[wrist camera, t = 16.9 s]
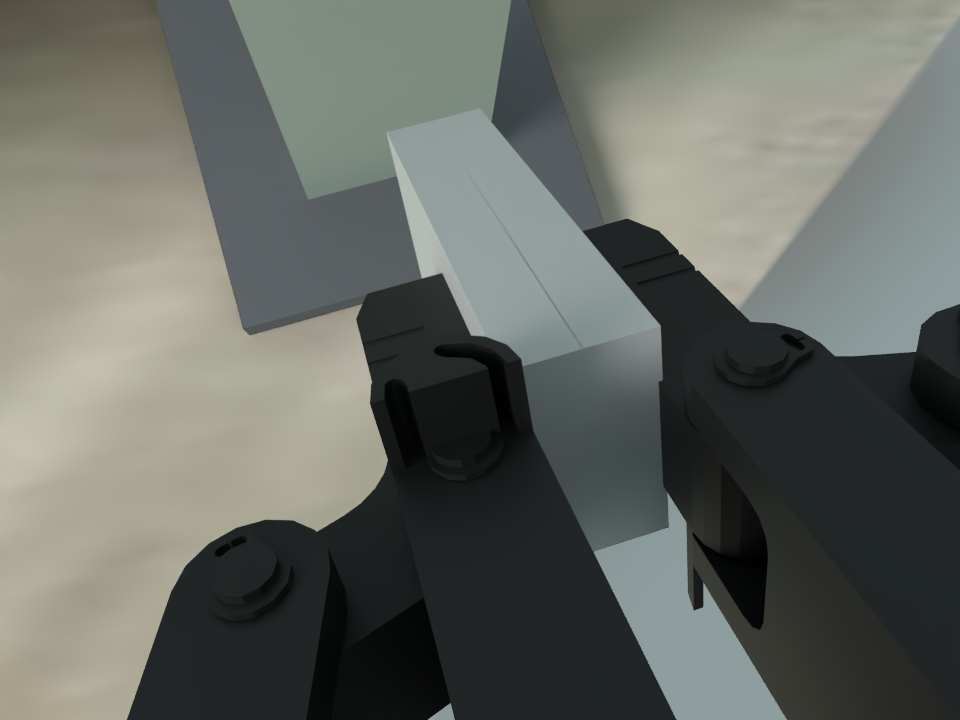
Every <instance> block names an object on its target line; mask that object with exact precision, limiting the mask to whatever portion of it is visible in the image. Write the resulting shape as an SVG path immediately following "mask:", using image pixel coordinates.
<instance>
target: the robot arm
mask: <svg viewBox="0 0 960 720" xmlns="http://www.w3.org/2000/svg"><path fill="white" fill-rule="evenodd" d="M386 133H387V137H388V141H389V145H390V149H391V153H392V157H393V162H394V166H395V170H396V174H397V178H398V182H399V186H400V190H401V195H402V199H403V203H404V207H405V211H406V215H407V219H408V224H409V228H410V232H411V236H412V240H413V244H414V248H415V252H416V257H417V261H418V265H419V269H420V273H421V277H422V279H418V280H415V281H411V282H408V283H404V284H400V285H397V286H393V287H390V288H386V289H382V290H379V291H375V292H372V293H368V294H367V295H366V297H365V300H364V302H363V304H362V307H361V309H360V311H359V314H358V316H357V319H356V320H357V324H358V328H359V332H360V336H361V340H362V344H363V347H364V351H365V355H366V359H367V363H368V367H369V371H370V375H371V379H372V384H371V398H370V405H371V408H372V411H373V414H374V417H375V420H376V424H377V427H378V430H379V433H380V436H381V439H382V442H383V445H384V449H385V452H386V455H387V458H388V462H387V466H386V470H385V473H384V475H383V476H382V478H381V480H380V481H379V483H378V485H377V486H376V488H375V489H374V490H373V491H372V492H371V494H370V495H369V496H368V497H367V498H366V499H365V500H364V501H363V502H362V503H361V504H360V505H358V506H357V507H355V508H354V509H353V510H351V511H350V512H348V513H347V514H346V515H344V516H343V517H341V518H340V519H338V520H336V521H334V522H333V523H331V524H329V525H328V526H326V527H324V528H323V529H321V530H319V531H318V532H316V531H315V530H313V529H311V528H309V527H306V526H304V525H302V524H300V523H297V522H295V521H290V520H263V521H260V522H256V523H253V524H249V525H245V526H242V527H238V528H235V529H234V530H232V531H230V532H228V533H227V534H225V535H223V536H221V537H220V538H218V539H216V540H214V541H213V542H211V543H209V544H208V545H207V546H206V547H205V548H204V549H203V550H202V551H201V552H200V553H199V554H198V555H197V556H196V557H194V558H193V559H192V560H191V561H190V562H189V563H188V564H187V565H186V566H185V568H184V570H183V572H182V574H181V575H180V577H179V579H178V581H177V582H176V584H175V586H174V588H173V590H172V591H171V594H170V597H169V600H168V603H167V606H166V609H165V611H164V614H163V617H162V620H161V623H160V626H159V629H158V632H157V635H156V637H155V640H154V643H153V646H152V649H151V652H150V655H149V658H148V661H147V663H146V666H145V669H144V672H143V675H142V678H141V681H140V684H139V687H138V689H137V692H136V695H135V698H134V701H133V704H132V707H131V710H130V713H129V716H128V718H127V720H428V719H429V718H430V717H432V716H433V715H435V714H436V713H437V712H439V711H440V710H441V709H443V708H444V707H445V706H447V705H448V704H450V703H451V706H452V710H453V714H454V718H455V720H676V718H675V716H674V715H673V712H672V710H671V708H670V706H669V704H668V702H667V700H666V698H665V696H664V694H663V692H662V690H661V688H660V686H659V684H658V682H657V680H656V678H655V676H654V674H653V672H652V670H651V668H650V666H649V664H648V662H647V660H646V657H645V656H644V654H643V651H642V650H641V647H640V645H639V644H638V641H637V639H636V637H635V635H634V634H633V631H632V629H631V627H630V625H629V623H628V621H627V619H626V617H625V615H624V613H623V611H622V609H621V607H620V605H619V603H618V601H617V599H616V597H615V595H614V593H613V591H612V589H611V587H610V585H609V583H608V581H607V579H606V577H605V575H604V573H603V571H602V569H601V567H600V565H599V563H598V560H597V559H596V557H595V554H594V553H593V552H594V551H596V550H600V549H603V548H606V547H609V546H612V545H615V544H618V543H621V542H624V541H627V540H631V539H634V538H637V537H640V536H643V535H646V534H649V533H652V532H656V531H659V530H662V529H665V528H668V527H669V523H668V497H667V492H668V494H669V495H670V497H671V498H672V500H673V501H674V503H675V505H676V506H677V508H678V509H679V511H680V513H681V514H682V516H683V517H684V519H685V520H686V522H687V561H688V562H687V564H688V565H687V566H688V594H689V597H690V600H691V603H692V606H693V609H694V610H696V609H699V608H702V607H703V582H704V584H705V586H706V587H707V589H708V591H709V592H710V594H711V596H712V597H713V599H714V600H715V602H716V604H717V605H718V607H719V609H720V610H721V612H722V613H723V615H724V616H725V619H726V620H727V622H728V623H729V625H730V627H731V628H732V630H733V632H734V633H735V635H736V637H737V638H738V640H739V642H740V643H741V645H742V646H743V648H744V649H745V651H746V653H747V655H748V656H749V658H750V660H751V661H752V663H753V665H754V666H755V668H756V669H757V671H758V673H759V674H760V676H761V678H762V679H763V681H764V683H765V684H766V686H767V687H768V689H769V691H770V692H771V694H772V696H773V697H774V699H775V701H776V702H777V704H778V706H779V707H780V709H781V711H782V712H783V714H784V715H785V717H786V719H787V720H960V304H959V305H956V306H953V307H951V308H947V309H944V310H942V311H939V312H936V313H935V314H933V315H932V316H931V317H930V318H929V319H928V320H927V321H925V322H924V323H923V324H922V325H921V330H920V335H919V341H918V346H917V351H916V352H910V353H895V354H881V355H868V356H853V357H852V356H849V357H848V356H847V357H846V356H841V357H840V356H839V357H837V356H834V355H833V354H832V353H831V352H830V351H828V350H827V349H826V348H825V347H824V346H823V345H822V344H821V343H819V342H818V341H816V340H815V339H813V338H811V337H810V336H808V335H807V334H805V333H803V332H802V331H800V330H796V329H793V328H789V327H785V326H782V325H779V324H775V323H758V322H750V321H749V320H748V319H747V318H746V317H745V316H744V315H743V314H742V313H741V312H740V311H739V310H738V309H737V308H736V307H735V306H734V305H733V304H732V303H731V302H730V301H729V300H728V299H727V298H726V297H725V296H724V295H723V294H722V293H721V292H720V291H719V290H718V289H717V288H716V287H715V286H714V285H713V284H712V283H711V282H710V281H709V280H708V279H707V278H706V277H705V276H704V275H703V274H702V273H701V272H700V271H699V270H698V271H695V268H694V266H693V265H692V264H691V263H690V262H689V261H688V260H687V259H686V258H685V257H684V256H683V255H682V254H681V255H679V252H678V250H677V249H676V248H675V247H674V246H673V245H672V244H671V243H670V242H669V241H668V240H667V239H666V238H665V237H664V236H663V235H662V234H661V233H660V232H659V231H657V230H655V229H652V228H650V227H647V226H644V225H642V224H639V223H637V222H634V221H632V220H629V219H624V220H621V221H617V222H613V223H610V224H606V225H603V226H599V227H595V228H592V229H588V230H584V231H581V229H580V228H579V227H578V226H577V225H576V223H575V222H574V221H573V220H572V219H571V217H570V216H569V215H568V214H567V213H566V211H565V210H564V209H563V208H562V207H561V205H560V204H559V203H558V202H557V201H556V199H555V198H554V197H553V196H552V195H551V193H550V192H549V191H548V190H547V189H546V187H545V186H544V185H543V184H542V182H541V181H540V180H539V179H538V178H537V176H536V175H535V174H534V173H533V172H532V170H531V169H530V168H529V167H528V166H527V164H526V163H525V162H524V161H523V160H522V158H521V157H520V156H519V155H518V154H517V152H516V151H515V150H514V149H513V148H512V146H511V145H510V144H509V143H508V142H507V140H506V139H505V138H504V137H503V136H502V134H501V133H500V132H499V131H498V130H497V128H496V127H495V126H494V125H493V124H492V122H491V121H490V120H489V119H488V118H487V116H486V115H485V114H484V113H483V111H482V110H481V109H480V108H479V109H476V110H472V111H468V112H464V113H460V114H456V115H452V116H448V117H444V118H440V119H437V120H433V121H429V122H425V123H421V124H417V125H413V126H409V127H405V128H401V129H398V130H394V131H390V132H386Z"/></svg>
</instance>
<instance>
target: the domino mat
mask: <svg viewBox="0 0 960 720" xmlns="http://www.w3.org/2000/svg"><path fill="white" fill-rule="evenodd" d="M155 1H156V4H157V8H158V12H159V16H160V19H161V23H162V27H163V31H164V34H165V38H166V42H167V46H168V49H169V53H170V57H171V61H172V64H173V68H174V72H175V75H176V79H177V83H178V87H179V90H180V94H181V98H182V102H183V105H184V109H185V113H186V117H187V120H188V124H189V128H190V132H191V135H192V139H193V143H194V147H195V150H196V154H197V158H198V162H199V165H200V169H201V173H202V177H203V180H204V184H205V188H206V192H207V195H208V199H209V203H210V207H211V210H212V214H213V218H214V221H215V225H216V229H217V233H218V236H219V240H220V244H221V248H222V251H223V255H224V259H225V263H226V266H227V270H228V274H229V278H230V281H231V285H232V289H233V293H234V296H235V300H236V304H237V308H238V311H239V315H240V319H241V323H242V326H243V329H244V330H245V331H246V332H247V333H248V334H249V335H252V334H255V333H259V332H263V331H266V330H270V329H273V328H277V327H280V326H284V325H288V324H291V323H295V322H298V321H302V320H305V319H309V318H312V317H316V316H320V315H323V314H327V313H330V312H334V311H337V310H341V309H345V308H348V307H352V306H355V305H359V304H362V303H363V302H364V300H365V297H366V295H367V294H368V293H372V292H375V291H379V290H382V289H386V288H390V287H393V286H397V285H400V284H404V283H408V282H411V281H415V280H418V279H422V277H421V273H420V269H419V265H418V261H417V257H416V252H415V248H414V244H413V240H412V236H411V232H410V228H409V224H408V219H407V215H406V211H405V207H404V203H403V199H402V195H401V190H400V186H399V182H398V178H397V176H396V177H392V178H388V179H385V180H381V181H377V182H373V183H369V184H366V185H362V186H358V187H354V188H351V189H347V190H343V191H339V192H335V193H332V194H328V195H324V196H320V197H316V198H313V199H309V200H308V198H307V195H306V193H305V190H304V188H303V185H302V183H301V180H300V178H299V175H298V173H297V170H296V167H295V165H294V162H293V160H292V157H291V155H290V152H289V150H288V147H287V145H286V142H285V140H284V137H283V135H282V132H281V130H280V127H279V125H278V122H277V120H276V117H275V115H274V112H273V110H272V107H271V105H270V102H269V100H268V97H267V95H266V92H265V90H264V87H263V85H262V82H261V80H260V77H259V75H258V72H257V70H256V67H255V65H254V62H253V60H252V57H251V55H250V52H249V50H248V47H247V45H246V42H245V40H244V37H243V35H242V32H241V30H240V27H239V25H238V22H237V20H236V17H235V15H234V12H233V10H232V7H231V5H230V2H229V0H155ZM491 122H492V124H493V125H494V126H495V127H496V128H497V130H498V131H499V132H500V133H501V134H502V136H503V137H504V138H505V139H506V140H507V142H508V143H509V144H510V145H511V146H512V148H513V149H514V150H515V151H516V152H517V154H518V155H519V156H520V157H521V158H522V160H523V161H524V162H525V163H526V164H527V166H528V167H529V168H530V169H531V170H532V172H533V173H534V174H535V175H536V176H537V178H538V179H539V180H540V181H541V182H542V184H543V185H544V186H545V187H546V189H547V190H548V191H549V192H550V193H551V195H552V196H553V197H554V198H555V199H556V201H557V202H558V203H559V204H560V205H561V207H562V208H563V209H564V210H565V211H566V213H567V214H568V215H569V216H570V217H571V219H572V220H573V221H574V222H575V223H576V225H577V226H578V227H579V228H580V229H581V231H584V230H588V229H592V228H595V227H599V226H603V225H604V223H603V220H602V217H601V214H600V211H599V208H598V205H597V203H596V200H595V197H594V194H593V191H592V188H591V185H590V182H589V179H588V176H587V173H586V171H585V168H584V165H583V162H582V159H581V156H580V153H579V150H578V147H577V144H576V141H575V138H574V136H573V133H572V130H571V127H570V124H569V121H568V118H567V115H566V112H565V109H564V106H563V103H562V101H561V98H560V95H559V92H558V89H557V86H556V83H555V80H554V77H553V74H552V71H551V69H550V66H549V63H548V60H547V57H546V54H545V51H544V48H543V45H542V42H541V39H540V36H539V34H538V31H537V28H536V25H535V22H534V19H533V16H532V13H531V10H530V7H529V4H528V2H527V0H511V5H510V11H509V17H508V23H507V29H506V36H505V42H504V48H503V54H502V60H501V66H500V72H499V78H498V85H497V91H496V97H495V103H494V109H493V115H492V121H491Z"/></svg>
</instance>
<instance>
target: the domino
mask: <svg viewBox="0 0 960 720" xmlns="http://www.w3.org/2000/svg"><path fill="white" fill-rule="evenodd" d="M229 2H230V5H231V7H232V10H233V12H234V15H235V17H236V20H237V22H238V25H239V27H240V30H241V32H242V35H243V37H244V40H245V42H246V45H247V47H248V50H249V52H250V55H251V57H252V60H253V62H254V65H255V67H256V70H257V72H258V75H259V77H260V80H261V82H262V85H263V87H264V90H265V92H266V95H267V97H268V100H269V102H270V105H271V107H272V110H273V112H274V115H275V117H276V120H277V122H278V125H279V127H280V130H281V132H282V135H283V137H284V140H285V142H286V145H287V147H288V150H289V152H290V155H291V157H292V160H293V162H294V165H295V167H296V170H297V173H298V175H299V178H300V180H301V183H302V185H303V188H304V190H305V193H306V195H307V198H308V200H309V199H313V198H316V197H320V196H324V195H328V194H332V193H335V192H339V191H343V190H347V189H351V188H354V187H358V186H362V185H366V184H369V183H373V182H377V181H381V180H385V179H388V178H392V177H396V176H397V174H396V170H395V166H394V162H393V157H392V153H391V149H390V145H389V141H388V137H387V133H386V132H390V131H394V130H398V129H401V128H405V127H409V126H413V125H417V124H421V123H425V122H429V121H433V120H437V119H440V118H444V117H448V116H452V115H456V114H460V113H464V112H468V111H472V110H476V109H479V108H480V109H481V110H482V111H483V113H484V114H485V115H486V116H487V118H488V119H489V120H490V121H492V115H493V109H494V103H495V97H496V91H497V85H498V78H499V72H500V66H501V60H502V54H503V48H504V42H505V36H506V29H507V23H508V17H509V11H510V5H511V0H229Z"/></svg>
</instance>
